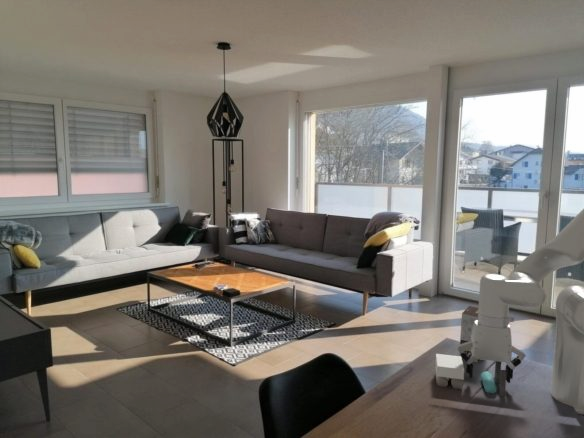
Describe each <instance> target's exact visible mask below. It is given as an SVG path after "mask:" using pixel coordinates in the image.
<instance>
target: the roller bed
mask: <svg viewBox="0 0 584 438" xmlns="http://www.w3.org/2000/svg"><path fill="white" fill-rule="evenodd" d="M494 363H495V365H494V377H493V380H494V382H495V384H498V385H499V389H498V395H499V396H500V397H505V396H506V385H507V381H506V374H507V373H506V369H502V362H498V361H495V362H494ZM434 369H435V370H434V371H435V380H436V386H438V387H441V388H442V387H444V388H447V386H448V383H449V382H448V378H447V377H439V376H437V373H436V368H434ZM450 383H451V386H452V389H457V390H461V389H463V386H464V382H463V380H462V379H454V378H450Z"/></svg>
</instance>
